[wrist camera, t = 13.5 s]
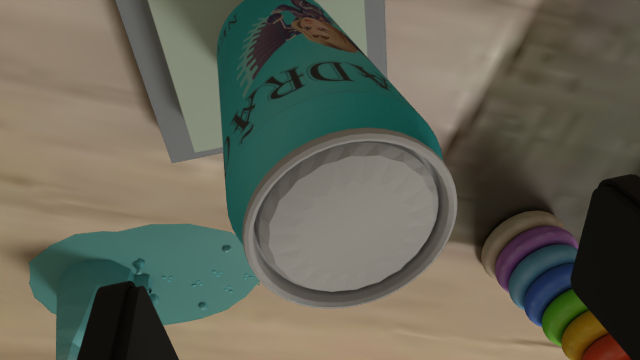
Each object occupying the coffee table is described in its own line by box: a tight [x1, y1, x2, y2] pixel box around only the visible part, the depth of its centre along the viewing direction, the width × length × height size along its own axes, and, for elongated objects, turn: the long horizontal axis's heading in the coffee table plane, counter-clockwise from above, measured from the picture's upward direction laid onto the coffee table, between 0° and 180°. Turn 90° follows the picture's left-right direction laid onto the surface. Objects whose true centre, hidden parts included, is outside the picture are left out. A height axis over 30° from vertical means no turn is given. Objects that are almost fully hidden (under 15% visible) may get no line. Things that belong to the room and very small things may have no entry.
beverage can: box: [217, 0, 457, 309], centre depth 17 cm, size 6×6×15 cm
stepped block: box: [115, 0, 387, 163], centre depth 26 cm, size 14×14×6 cm
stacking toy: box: [481, 211, 632, 360], centre depth 36 cm, size 8×8×19 cm
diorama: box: [29, 224, 260, 360], centre depth 34 cm, size 12×20×9 cm, turn 86°
